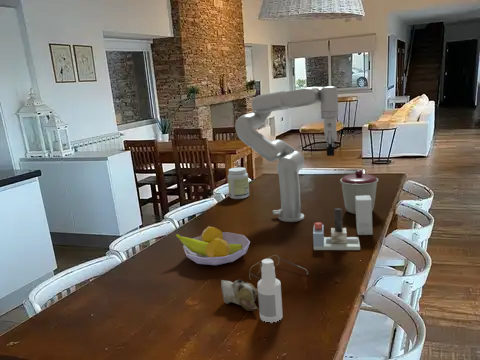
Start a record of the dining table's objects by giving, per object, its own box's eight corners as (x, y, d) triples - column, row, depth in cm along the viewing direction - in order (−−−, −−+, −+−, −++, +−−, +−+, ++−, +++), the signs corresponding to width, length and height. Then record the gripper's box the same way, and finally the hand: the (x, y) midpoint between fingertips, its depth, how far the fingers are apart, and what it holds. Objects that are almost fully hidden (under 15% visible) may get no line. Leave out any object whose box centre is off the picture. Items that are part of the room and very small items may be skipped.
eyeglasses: (276, 264, 163) (275, 252, 162) (308, 275, 153) (307, 262, 151) (246, 280, 152) (245, 267, 151) (278, 293, 142) (277, 279, 141)
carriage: (331, 243, 173) (330, 211, 170) (331, 238, 179) (330, 207, 175) (346, 243, 172) (346, 211, 168) (346, 238, 177) (345, 206, 174)
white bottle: (258, 312, 131) (254, 257, 126) (280, 309, 131) (277, 255, 127) (261, 324, 124) (257, 267, 120) (284, 322, 124) (281, 264, 120)
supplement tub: (253, 194, 260) (251, 167, 256) (242, 200, 250) (240, 172, 246) (236, 193, 266) (234, 166, 262) (225, 198, 256) (222, 170, 252)
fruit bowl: (258, 246, 181) (256, 221, 178) (236, 275, 156) (234, 246, 153) (197, 242, 190) (194, 218, 188) (168, 269, 166) (164, 242, 163)
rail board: (313, 249, 173) (313, 233, 171) (314, 240, 182) (313, 224, 181) (360, 250, 169) (359, 233, 167) (358, 240, 179) (358, 224, 177)
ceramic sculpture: (228, 268, 142) (270, 277, 136) (229, 291, 144) (271, 301, 138) (212, 283, 133) (257, 293, 126) (214, 308, 135) (257, 319, 129)
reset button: (314, 229, 174) (314, 225, 174) (314, 226, 177) (314, 222, 177) (322, 229, 174) (322, 225, 173) (322, 226, 177) (322, 222, 176)
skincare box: (372, 235, 183) (372, 200, 179) (356, 235, 184) (356, 200, 181) (370, 228, 191) (370, 194, 187) (355, 228, 192) (354, 195, 188)
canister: (338, 216, 210) (336, 174, 205) (343, 205, 226) (343, 166, 221) (376, 218, 203) (376, 174, 198) (380, 206, 219) (379, 166, 214)
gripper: (338, 116, 183) (338, 158, 187) (338, 112, 197) (339, 152, 201) (320, 117, 185) (321, 158, 189) (321, 113, 199) (322, 152, 203)
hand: (330, 155), depth 195 cm, fingers closed
